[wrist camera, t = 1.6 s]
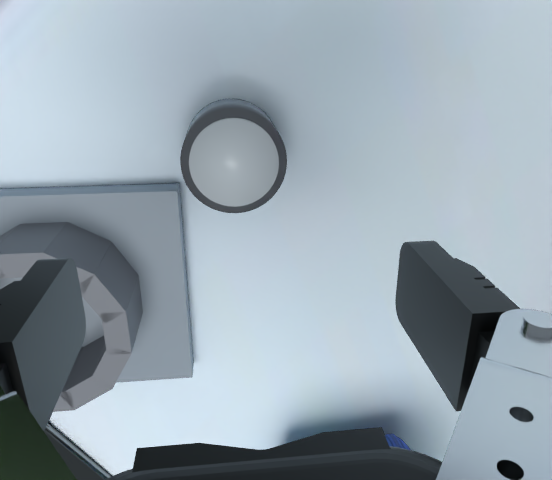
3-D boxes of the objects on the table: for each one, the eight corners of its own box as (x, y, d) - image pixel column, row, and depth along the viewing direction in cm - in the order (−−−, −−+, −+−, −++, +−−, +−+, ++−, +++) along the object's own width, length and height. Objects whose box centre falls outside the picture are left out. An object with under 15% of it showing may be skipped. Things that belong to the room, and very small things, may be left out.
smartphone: (61, 551, 37) (-125, 421, 30) (65, 537, 37) (-114, 409, 31) (139, 505, 36) (-36, 361, 29) (141, 492, 36) (-28, 350, 30)
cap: (277, 97, 26) (287, 108, 22) (277, 188, 28) (286, 212, 24) (182, 99, 26) (176, 110, 22) (189, 191, 28) (184, 216, 24)
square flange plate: (179, 183, 27) (170, 216, 22) (193, 362, 32) (188, 423, 27) (-90, 191, 26) (-165, 228, 21) (-35, 377, 31) (-85, 445, 26)
